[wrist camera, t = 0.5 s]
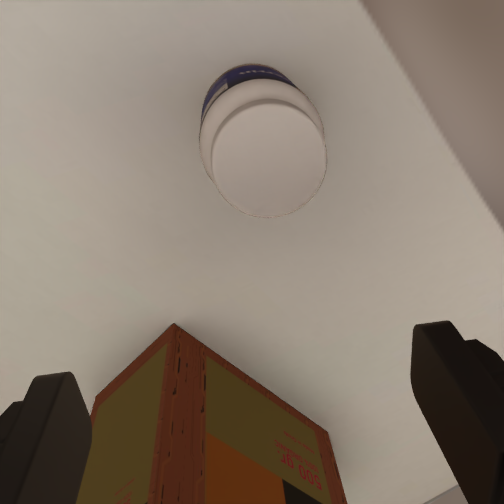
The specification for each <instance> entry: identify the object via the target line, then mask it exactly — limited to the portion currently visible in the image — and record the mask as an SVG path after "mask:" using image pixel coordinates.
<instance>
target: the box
mask: <svg viewBox="0 0 504 504" xmlns="http://www.w3.org/2000/svg"><path fill="white" fill-rule="evenodd" d="M90 419H91V423H92V443H91V448H90V452H89V456H88V459H87V463H86V467H85V471H84V474H83V478H82V482H81V486H80V490H79V493H78V497H77V501H76V504H347V501H346V497H345V493H344V490H343V486H342V482H341V479H340V475H339V471H338V468H337V464H336V460H335V457H334V453H333V450H332V446H331V442H330V439H329V435H328V432H327V431H325V430H324V429H322V428H321V427H320V426H318V425H317V424H315V423H314V422H313V421H311V420H310V419H308V418H307V417H305V416H304V415H303V414H301V413H300V412H298V411H297V410H296V409H294V408H293V407H291V406H290V405H288V404H287V403H286V402H284V401H283V400H281V399H280V398H279V397H277V396H276V395H274V394H273V393H272V392H270V391H269V390H267V389H266V388H264V387H263V386H262V385H260V384H259V383H257V382H256V381H255V380H253V379H252V378H250V377H249V376H247V375H246V374H245V373H243V372H242V371H240V370H239V369H238V368H236V367H235V366H233V365H232V364H231V363H229V362H228V361H226V360H225V359H223V358H222V357H221V356H219V355H218V354H216V353H215V352H214V351H212V350H211V349H209V348H208V347H206V346H205V345H204V344H202V343H201V342H199V341H198V340H197V339H195V338H194V337H192V336H191V335H190V334H188V333H187V332H185V331H184V330H182V329H181V328H180V327H178V326H177V325H175V324H172V325H171V326H170V327H169V328H168V329H167V330H166V331H165V332H164V333H163V334H162V335H161V336H160V337H159V338H158V339H157V340H155V341H154V342H153V343H152V344H151V345H150V346H149V347H148V348H147V349H146V350H145V351H144V352H143V353H142V354H141V355H140V356H138V357H137V358H136V359H135V360H134V361H133V362H132V363H131V364H130V365H129V366H128V367H127V368H126V369H125V370H124V371H123V372H122V373H120V374H119V375H118V376H117V377H116V378H115V379H114V380H113V381H112V382H111V383H110V384H109V385H108V386H107V387H106V388H105V389H103V390H102V391H101V392H100V393H99V394H98V395H97V396H96V398H95V402H94V405H93V409H92V412H91V416H90Z"/></svg>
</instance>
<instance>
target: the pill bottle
mask: <svg viewBox="0 0 504 504" xmlns="http://www.w3.org/2000/svg"><path fill="white" fill-rule="evenodd" d="M199 147H200V154H201V159H202V162H203V165H204V167H205V170H206V172H207V173H208V175H209V177H210V178H211V180H212V181H213V182H214V183H215V185H216V186H217V188H218V190H219V192H220V193H221V195H222V196H223V197H224V198H225V200H226V201H227V202H228V203H230V204H231V205H232V206H233V207H235V208H236V209H238V210H239V211H241V212H243V213H246V214H248V215H252V216H255V217H263V218H271V217H278V216H283V215H286V214H289V213H291V212H294V211H296V210H297V209H299V208H301V207H302V206H303V205H305V204H306V203H307V202H308V201H309V200H310V199H311V198H312V197H313V196H314V195H315V193H316V192H317V191H318V189H319V187H320V185H321V183H322V181H323V179H324V176H325V172H326V167H327V150H326V145H325V136H324V129H323V124H322V121H321V118H320V116H319V114H318V112H317V110H316V108H315V107H314V105H313V104H312V102H311V101H310V100H309V99H308V97H307V96H306V95H305V94H304V93H303V92H301V91H300V90H299V89H298V88H297V87H296V86H295V85H294V84H293V83H292V82H291V81H290V80H289V79H288V78H286V77H285V76H284V75H283V74H282V73H280V72H279V71H277V70H275V69H273V68H271V67H268V66H265V65H260V64H244V65H240V66H237V67H234V68H232V69H230V70H228V71H227V72H225V73H223V74H222V75H221V76H220V77H219V78H218V79H217V80H216V81H215V82H214V83H213V85H212V86H211V87H210V89H209V91H208V93H207V95H206V98H205V100H204V104H203V109H202V116H201V127H200V136H199Z"/></svg>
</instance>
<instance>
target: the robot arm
mask: <svg viewBox="0 0 504 504" xmlns="http://www.w3.org/2000/svg"><path fill="white" fill-rule="evenodd" d="M411 384H412V389H413V393H414V396H415V399H416V401H417V403H418V405H419V407H420V409H421V411H422V413H423V415H424V417H425V419H426V421H427V423H428V425H429V427H430V429H431V431H432V433H433V435H434V437H435V439H436V441H437V442H438V444H439V446H440V448H441V450H442V452H443V454H444V456H445V458H446V460H447V462H448V464H449V466H450V468H451V470H452V472H453V474H454V476H455V478H456V480H457V482H458V484H459V486H460V487H461V490H462V492H463V494H464V496H465V498H466V500H467V502H468V504H504V361H503V360H502V359H501V357H500V356H499V355H498V354H497V353H496V352H495V351H493V350H492V349H490V348H489V347H487V346H486V345H484V344H483V343H481V342H480V341H478V340H477V339H474V340H466V341H465V340H464V339H463V338H462V336H461V335H460V333H459V332H458V331H457V329H456V328H455V327H454V325H453V324H452V323H451V322H450V321H439V322H432V323H425V324H418V325H415V326H414V329H413V339H412V356H411ZM91 443H92V423H91V419H90V416H89V413H88V410H87V408H86V405H85V402H84V400H83V397H82V395H81V392H80V389H79V387H78V384H77V381H76V379H75V377H74V375H73V374H72V373H71V372H62V373H55V374H47V375H40V376H36V377H35V378H34V379H33V381H32V383H31V385H30V387H29V389H28V391H27V394H26V396H25V398H24V400H23V401H18V402H13V403H12V404H11V405H10V406H9V407H8V408H7V409H6V410H5V412H4V413H3V414H2V415H1V416H0V504H76V501H77V497H78V493H79V490H80V486H81V482H82V478H83V474H84V471H85V467H86V463H87V459H88V456H89V452H90V448H91Z"/></svg>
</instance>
